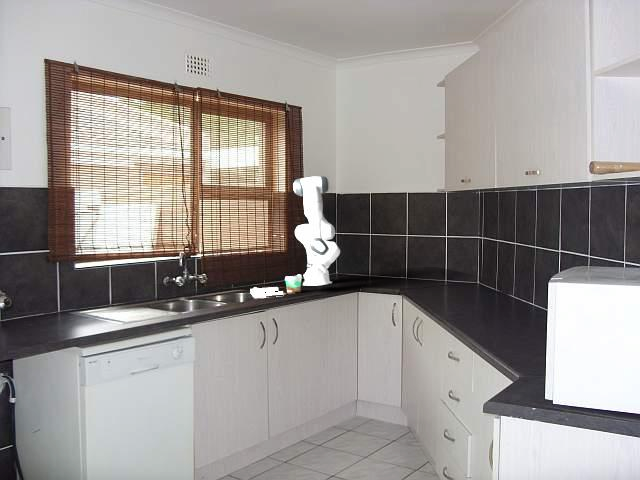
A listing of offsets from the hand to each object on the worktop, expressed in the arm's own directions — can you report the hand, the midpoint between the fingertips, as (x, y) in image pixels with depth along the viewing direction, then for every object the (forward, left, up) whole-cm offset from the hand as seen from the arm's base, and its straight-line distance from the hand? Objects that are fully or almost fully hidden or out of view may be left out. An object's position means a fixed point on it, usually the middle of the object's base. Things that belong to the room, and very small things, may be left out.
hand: (304, 283), depth 379 cm
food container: (0, -5, -5) cm, 7 cm away
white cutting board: (0, -22, -5) cm, 23 cm away
